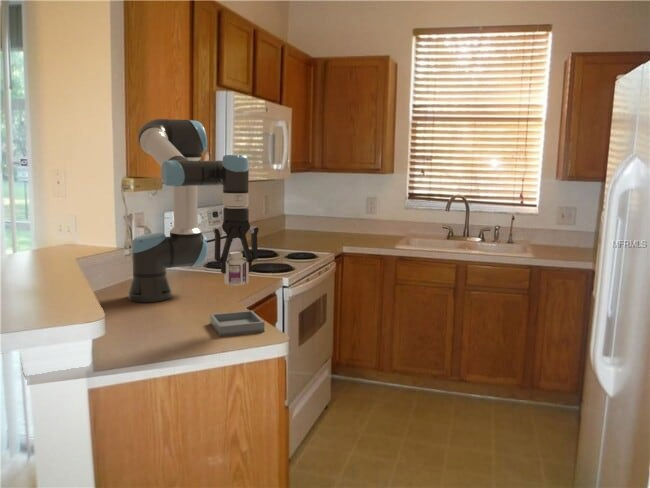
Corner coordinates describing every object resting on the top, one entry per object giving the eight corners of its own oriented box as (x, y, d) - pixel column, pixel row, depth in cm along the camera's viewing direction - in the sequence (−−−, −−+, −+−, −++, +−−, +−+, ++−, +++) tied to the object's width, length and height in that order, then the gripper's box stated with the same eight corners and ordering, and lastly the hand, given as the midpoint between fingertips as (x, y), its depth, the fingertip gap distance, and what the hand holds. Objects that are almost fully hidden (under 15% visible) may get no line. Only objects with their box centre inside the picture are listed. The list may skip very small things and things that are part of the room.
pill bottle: (237, 281, 175) (236, 250, 173) (249, 283, 171) (248, 252, 170) (224, 284, 171) (223, 252, 169) (235, 286, 167) (235, 254, 166)
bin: (219, 336, 164) (219, 326, 164) (210, 323, 177) (210, 314, 176) (264, 331, 170) (264, 322, 169) (252, 319, 182) (252, 310, 182)
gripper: (207, 208, 160) (208, 288, 164) (269, 207, 168) (269, 283, 171) (202, 206, 167) (203, 282, 171) (262, 205, 174) (262, 278, 178)
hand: (236, 283), depth 171 cm, fingers closed on pill bottle, 5 cm apart
